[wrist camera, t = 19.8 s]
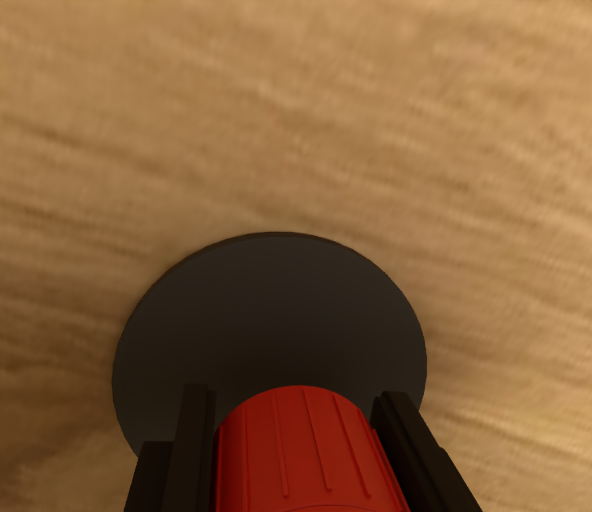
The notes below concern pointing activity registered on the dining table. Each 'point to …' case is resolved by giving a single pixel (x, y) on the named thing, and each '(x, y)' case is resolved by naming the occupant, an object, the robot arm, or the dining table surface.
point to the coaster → (264, 331)
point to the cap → (300, 457)
